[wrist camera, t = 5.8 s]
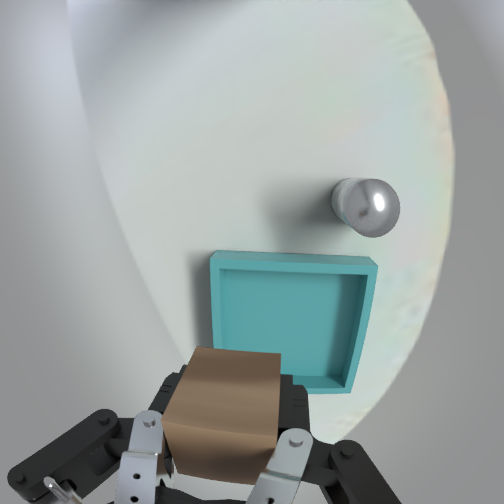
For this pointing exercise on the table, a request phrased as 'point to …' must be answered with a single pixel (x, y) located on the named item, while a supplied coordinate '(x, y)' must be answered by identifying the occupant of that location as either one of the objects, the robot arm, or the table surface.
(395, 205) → the metal cylinder
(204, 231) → the table surface
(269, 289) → the parts tray
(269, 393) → the walnut block
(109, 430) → the robot arm
